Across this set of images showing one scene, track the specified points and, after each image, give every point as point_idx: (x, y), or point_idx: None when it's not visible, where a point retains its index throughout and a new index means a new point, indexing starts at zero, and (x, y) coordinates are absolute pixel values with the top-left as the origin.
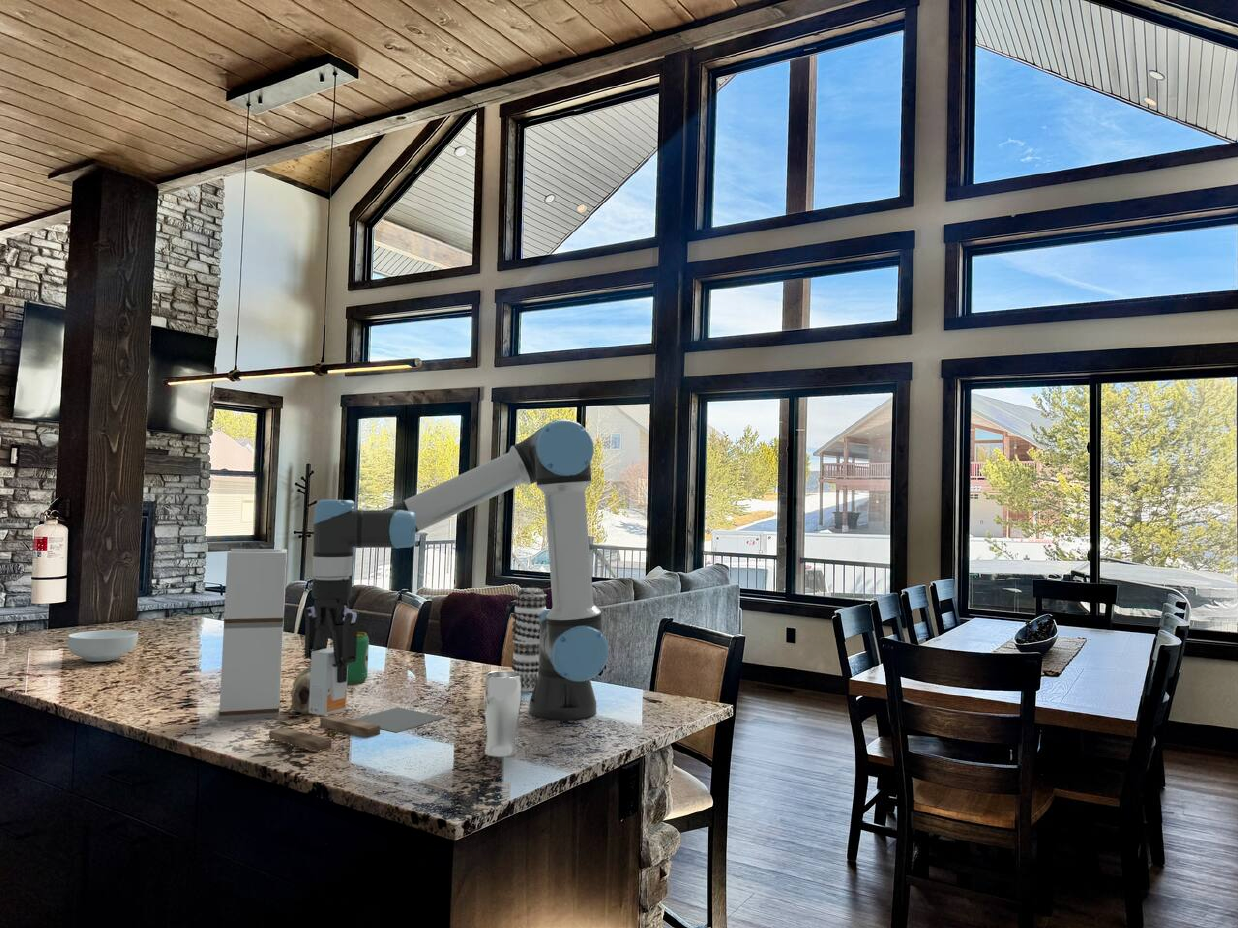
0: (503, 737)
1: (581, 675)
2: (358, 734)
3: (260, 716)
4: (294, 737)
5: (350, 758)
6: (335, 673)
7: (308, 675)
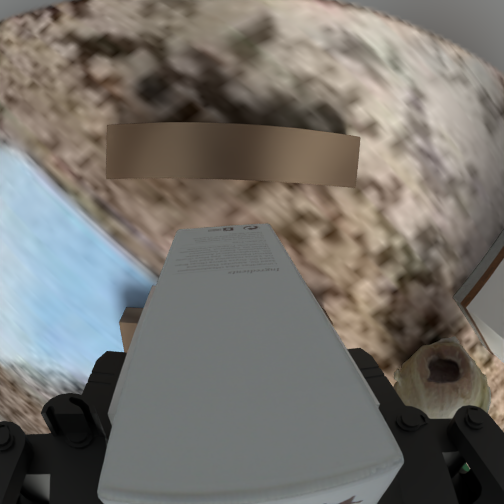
0: None
1: None
2: None
3: (479, 270)
4: (229, 123)
5: (33, 165)
6: (123, 382)
7: None
